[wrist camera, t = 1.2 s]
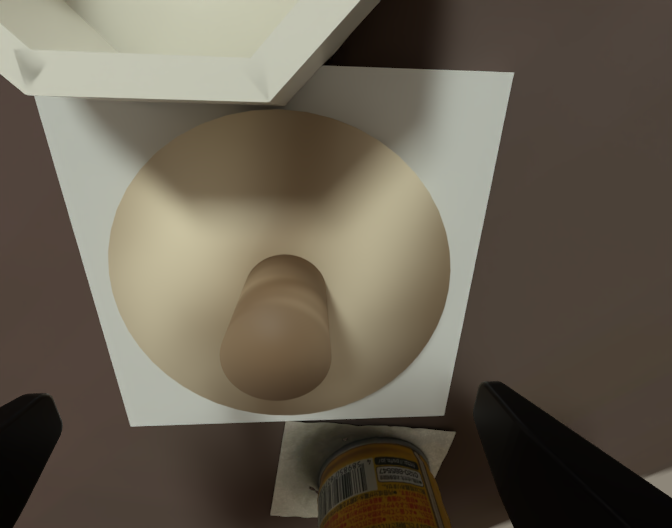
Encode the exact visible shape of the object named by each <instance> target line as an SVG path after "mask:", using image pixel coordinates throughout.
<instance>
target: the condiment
mask: <svg viewBox="0 0 672 528" xmlns="http://www.w3.org/2000/svg"><path fill="white" fill-rule="evenodd" d="M455 433H456V432H450V431H441V430H431V429H423V428H415V429H412V428H408V427H399V426H392V427H389V426H372V425H366V426H354V425H350V424H337V423H329V422H317V423H303V422H295V421H286V422H285V428H284V434H283V440H282V446H281V453H280V458H279V464H278V470H277V477H276V482H275V489H274V495H273V502H272V508H271V514H270V515H272V516H282V517H292V516H300V517H303V518H310V517H318V528H451V524H450V519H449V517H448V515H447V513H446V510H445V508H444V506H443V503H442V499H441V494H440V491H439V488H438V485H437V483H436V481H435V477H436V475H437V472H438V471H439V468H440V465H441V463H442V461H443V459H444V458H445V456H446V454H447V453H448V450H449V448H450V446H451V443H452V441H453V439H454V436H455ZM343 438H347V440H346V441H344V440H343ZM309 487H313V488H314V489H315V491H319V493H318V494H317V493H316V492H315V491H312V490H311V489H309Z"/></svg>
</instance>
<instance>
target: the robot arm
mask: <svg viewBox="0 0 672 528" xmlns="http://www.w3.org/2000/svg"><path fill="white" fill-rule="evenodd" d="M473 416H474V421H475V424H476V427H477V430H478V433H479V436H480V439H481V442H482V445H483V448H484V451H485V454H486V457H487V460H488V463H489V466H490V469H491V472H492V475H493V478H494V481H495V484H496V486H497V489H498V492H499V494H500V497H501V499H502V502H503V504H504V506H505V509H506V511H507V513H508V515H509V518H510V520H511V522H512V525H513V527H514V528H672V498H671V497H669V496H668V495H666V494H665V493H663V492H662V491H661V490H659V489H658V488H656V487H655V486H653V485H652V484H650V483H649V482H647V481H646V480H644V479H643V478H642V477H640V476H639V475H637V474H636V473H634V472H633V471H631V470H630V469H628V468H627V467H625V466H624V465H622V464H621V463H619V462H618V461H617V460H615V459H614V458H612V457H611V456H609V455H608V454H606V453H605V452H603V451H602V450H600V449H599V448H597V447H596V446H595V445H593V444H592V443H590V442H589V441H587V440H586V439H584V438H583V437H581V436H580V435H578V434H577V433H575V432H574V431H572V430H571V429H570V428H568V427H567V426H565V425H564V424H562V423H561V422H559V421H558V420H556V419H555V418H553V417H552V416H550V415H549V414H548V413H546V412H545V411H543V410H542V409H540V408H539V407H537V406H536V405H534V404H533V403H531V402H530V401H528V400H527V399H526V398H524V397H523V396H521V395H520V394H518V393H517V392H515V391H514V390H512V389H511V388H509V387H508V386H506V385H505V384H503V383H502V382H498V381H491V382H482V383H481V384H480V385H479V388H478V392H477V396H476V400H475V405H474V409H473ZM62 426H63V425H62V420H61V417H60V415H59V412H58V410H57V407H56V405H55V402H54V400H53V398H52V396H51V395H49V394H46V393H34V394H25V395H22V396H20V397H18V398H16V399H15V400H13V401H11V402H9V403H7V404H5V405H3V406H2V407H0V528H13V526H14V525H15V523H16V521H17V520H18V518H19V516H20V514H21V512H22V510H23V509H24V507H25V505H26V503H27V501H28V499H29V497H30V495H31V493H32V491H33V489H34V487H35V485H36V483H37V481H38V479H39V477H40V475H41V473H42V471H43V469H44V467H45V465H46V463H47V461H48V459H49V457H50V455H51V453H52V451H53V449H54V447H55V445H56V443H57V441H58V439H59V437H60V435H61V432H62Z"/></svg>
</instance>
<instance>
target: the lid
mask: <svg viewBox="0 0 672 528" xmlns="http://www.w3.org/2000/svg"><path fill="white" fill-rule="evenodd" d="M108 265H109V277H110V282H111V288H112V293H113V296H114V299H115V302H116V305H117V308H118V311H119V313H120V315H121V317H122V319H123V321H124V323H125V325H126V327H127V329H128V331H129V332H130V334H131V335H132V337H133V338H134V340H135V341H136V343H137V344H138V346H139V347H140V348H141V349H142V351H143V352H144V353H145V354H146V355H147V356H148V357H149V359H150V360H151V361H152V362H153V363H154V364H155V365H156V366H158V367H159V368H160V369H161V370H162V371H163V372H164V373H165V374H166V375H168V376H169V377H170V378H172V379H173V380H175V381H176V382H177V383H179V384H180V385H182V386H183V387H185V388H187V389H188V390H190V391H192V392H194V393H196V394H197V395H199V396H201V397H204V398H206V399H208V400H210V401H213V402H215V403H217V404H221V405H224V406H227V407H230V408H233V409H237V410H242V411H246V412H251V413H257V414H266V415H302V414H312V413H317V412H323V411H328V410H331V409H335V408H338V407H342V406H345V405H348V404H350V403H353V402H355V401H358V400H360V399H362V398H364V397H366V396H368V395H370V394H372V393H374V392H376V391H377V390H379V389H380V388H382V387H383V386H385V385H386V384H388V383H389V382H391V381H392V380H393V379H395V378H396V377H397V376H398V375H399V374H401V373H402V372H403V371H404V370H405V369H406V368H407V367H408V366H409V365H410V364H411V363H412V362H413V361H414V360H415V359H416V358H417V357H418V355H419V354H420V353H421V351H422V350H423V348H424V347H425V346H426V344H427V343H428V342H429V340H430V338H431V336H432V334H433V333H434V331H435V329H436V327H437V325H438V323H439V320H440V318H441V315H442V313H443V310H444V307H445V303H446V299H447V295H448V291H449V282H450V272H451V270H450V250H449V245H448V240H447V234H446V230H445V227H444V224H443V221H442V218H441V216H440V213H439V210H438V208H437V206H436V205H435V203H434V201H433V199H432V197H431V195H430V193H429V191H428V190H427V188H426V187H425V186H424V184H423V183H422V182H421V180H420V179H419V177H418V176H417V175H416V173H415V172H414V171H413V170H412V169H411V168H410V167H409V166H408V165H407V164H406V163H405V162H404V161H403V160H402V159H401V158H400V157H399V156H398V155H397V154H396V153H394V152H393V151H392V150H391V149H389V148H388V147H387V146H385V145H384V144H383V143H382V142H380V141H379V140H377V139H375V138H374V137H372V136H370V135H368V134H367V133H365V132H363V131H361V130H360V129H358V128H356V127H353V126H351V125H348V124H346V123H343V122H341V121H338V120H336V119H333V118H329V117H325V116H321V115H317V114H313V113H309V112H302V111H292V110H282V109H274V110H252V111H247V112H241V113H236V114H231V115H226V116H223V117H220V118H217V119H214V120H211V121H208V122H206V123H203V124H200V125H198V126H196V127H194V128H193V129H191V130H189V131H187V132H185V133H183V134H181V135H179V136H177V137H176V138H175V139H173V140H172V141H171V142H169V143H168V144H167V145H165V146H164V147H163V148H161V149H160V150H159V151H157V152H156V153H155V154H154V155H153V156H152V158H151V159H150V160H149V161H148V162H147V163H146V164H145V165H144V166H143V167H142V168H141V169H140V170H139V172H138V173H137V175H136V176H135V177H134V179H133V180H132V182H131V183H130V185H129V186H128V187H127V189H126V191H125V193H124V195H123V197H122V199H121V202H120V204H119V206H118V208H117V210H116V214H115V217H114V221H113V224H112V228H111V232H110V240H109V248H108Z"/></svg>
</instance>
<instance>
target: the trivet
mask: <svg viewBox="0 0 672 528" xmlns="http://www.w3.org/2000/svg"><path fill="white" fill-rule="evenodd" d="M513 75H514V73H511V72H484V71H457V70H430V69H403V68H377V67H350V66H323V65H322V66H321V67H320V68H319V69H318V70H317V71H316V72H315V73H314V75H313V76H312V77H311V78H310V79H309V80H308V81H307V82H306V83H305V84H304V86H303V87H302V88H301V89H300V90H299V91H298V92H297V93H296V94H295V95H294V97H293V98H292V99H291V100H290V101H289V102H288V103H287V104H286V105H284V106H271V105H236V104H202V103H167V102H135V101H118V100H101V99H84V98H67V97H50V96H34V97H35V100H36V104H37V107H38V111H39V114H40V117H41V121H42V124H43V128H44V131H45V134H46V138H47V141H48V145H49V148H50V152H51V155H52V158H53V162H54V165H55V169H56V172H57V176H58V179H59V182H60V186H61V189H62V193H63V196H64V200H65V203H66V206H67V210H68V213H69V217H70V220H71V224H72V227H73V230H74V234H75V237H76V241H77V244H78V248H79V251H80V254H81V258H82V261H83V265H84V268H85V272H86V275H87V278H88V282H89V285H90V289H91V292H92V296H93V299H94V302H95V306H96V309H97V313H98V316H99V320H100V323H101V326H102V330H103V333H104V337H105V340H106V344H107V347H108V350H109V354H110V357H111V361H112V364H113V368H114V371H115V374H116V378H117V381H118V385H119V388H120V391H121V395H122V398H123V402H124V405H125V409H126V412H127V415H128V419H129V422H130V426H159V425H188V424H217V423H246V422H275V421H304V420H333V419H362V418H391V417H420V416H444V414H445V409H446V404H447V399H448V394H449V389H450V384H451V379H452V374H453V369H454V364H455V360H456V355H457V350H458V345H459V340H460V335H461V330H462V325H463V320H464V315H465V310H466V306H467V301H468V296H469V291H470V286H471V281H472V276H473V271H474V266H475V261H476V256H477V252H478V247H479V242H480V237H481V232H482V227H483V222H484V217H485V212H486V207H487V202H488V197H489V193H490V188H491V183H492V178H493V173H494V168H495V163H496V158H497V153H498V148H499V143H500V139H501V134H502V129H503V124H504V119H505V114H506V109H507V104H508V99H509V94H510V89H511V85H512V80H513ZM274 109H282V110H292V111H302V112H309V113H313V114H317V115H321V116H325V117H329V118H333V119H336V120H338V121H341V122H343V123H346V124H348V125H351V126H353V127H356V128H358V129H360V130H361V131H363V132H365V133H367V134H368V135H370V136H372V137H374V138H375V139H377V140H379V141H380V142H382V143H383V144H384V145H385V146H387V147H388V148H389V149H391V150H392V151H393V152H394V153H396V154H397V155H398V156H399V157H400V158H401V159H402V160H403V161H404V162H405V163H406V164H407V165H408V166H409V167H410V168H411V169H412V170H413V171H414V172H415V173H416V175H417V176H418V177H419V179H420V180H421V182H422V183H423V184H424V186H425V187H426V188H427V190H428V191H429V193H430V195H431V197H432V199H433V201H434V203H435V205H436V206H437V208H438V210H439V213H440V216H441V218H442V221H443V224H444V227H445V230H446V234H447V240H448V245H449V250H450V270H451V272H450V282H449V291H448V295H447V299H446V303H445V307H444V310H443V313H442V315H441V318H440V320H439V323H438V325H437V327H436V329H435V331H434V333H433V334H432V336H431V338H430V340H429V342H428V343H427V344H426V346H425V347H424V348H423V350H422V351H421V353H420V354H419V355H418V357H417V358H416V359H415V360H414V361H413V362H412V363H411V364H410V365H409V366H408V367H407V368H406V369H405V370H404V371H403V372H402V373H401V374H399V375H398V376H397V377H396V378H395V379H393V380H392V381H391V382H389V383H388V384H386V385H385V386H383V387H382V388H380V389H379V390H377V391H376V392H374V393H372V394H370V395H368V396H366V397H364V398H362V399H360V400H358V401H355V402H353V403H350V404H348V405H345V406H342V407H338V408H335V409H331V410H328V411H323V412H317V413H312V414H302V415H266V414H257V413H251V412H246V411H242V410H237V409H233V408H230V407H227V406H224V405H221V404H217V403H215V402H213V401H210V400H208V399H206V398H204V397H201V396H199V395H197V394H196V393H194V392H192V391H190V390H188V389H187V388H185V387H183V386H182V385H180V384H179V383H177V382H176V381H175V380H173V379H172V378H170V377H169V376H168V375H166V374H165V373H164V372H163V371H162V370H161V369H160V368H159V367H158V366H156V365H155V364H154V363H153V362H152V361H151V360H150V359H149V357H148V356H147V355H146V354H145V353H144V352H143V351H142V349H141V348H140V347H139V346H138V344H137V343H136V341H135V340H134V338H133V337H132V335H131V334H130V332H129V331H128V329H127V327H126V325H125V323H124V321H123V319H122V317H121V315H120V313H119V311H118V308H117V305H116V302H115V299H114V296H113V293H112V288H111V282H110V277H109V265H108V248H109V240H110V232H111V228H112V224H113V221H114V217H115V214H116V210H117V208H118V206H119V204H120V202H121V199H122V197H123V195H124V193H125V191H126V189H127V187H128V186H129V185H130V183H131V182H132V180H133V179H134V177H135V176H136V175H137V173H138V172H139V170H140V169H141V168H142V167H143V166H144V165H145V164H146V163H147V162H148V161H149V160H150V159H151V158H152V156H153V155H154V154H155V153H156V152H157V151H159V150H160V149H161V148H163V147H164V146H165V145H167V144H168V143H169V142H171V141H172V140H173V139H175V138H176V137H177V136H179V135H181V134H183V133H185V132H187V131H189V130H191V129H193V128H194V127H196V126H198V125H200V124H203V123H206V122H208V121H211V120H214V119H217V118H220V117H223V116H226V115H231V114H236V113H241V112H247V111H252V110H274Z"/></svg>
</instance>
